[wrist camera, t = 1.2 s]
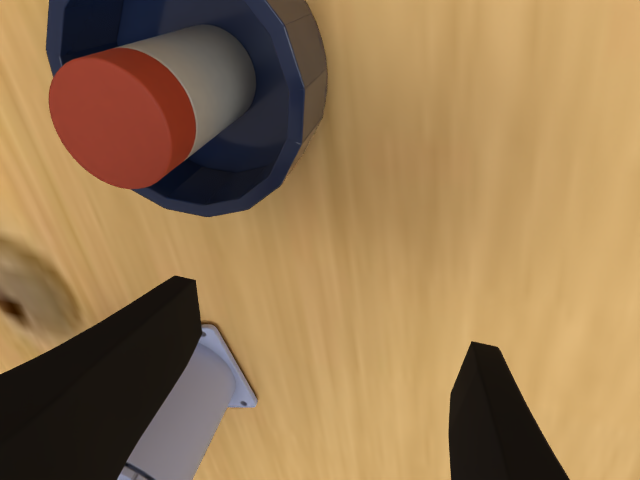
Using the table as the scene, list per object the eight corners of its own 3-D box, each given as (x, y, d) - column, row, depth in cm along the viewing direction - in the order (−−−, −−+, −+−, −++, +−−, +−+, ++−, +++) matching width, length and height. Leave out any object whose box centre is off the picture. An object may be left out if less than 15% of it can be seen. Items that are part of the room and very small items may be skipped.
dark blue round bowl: (177, 194, 23) (135, 231, 20) (69, -14, 18) (-7, -8, 15) (355, 156, 19) (338, 194, 16) (278, -115, 14) (234, -135, 11)
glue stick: (195, 130, 20) (96, 199, 14) (153, 41, 18) (21, 79, 12) (270, 109, 18) (193, 177, 13) (233, 10, 17) (125, 37, 11)
